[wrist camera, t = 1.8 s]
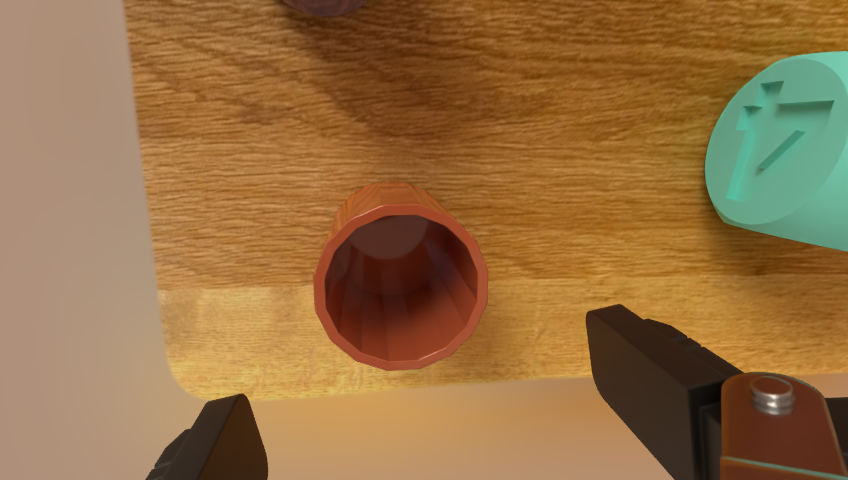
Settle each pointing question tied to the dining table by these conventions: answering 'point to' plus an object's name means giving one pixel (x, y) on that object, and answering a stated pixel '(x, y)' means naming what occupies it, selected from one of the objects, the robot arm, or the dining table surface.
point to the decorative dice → (786, 152)
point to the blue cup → (326, 6)
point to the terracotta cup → (399, 278)
